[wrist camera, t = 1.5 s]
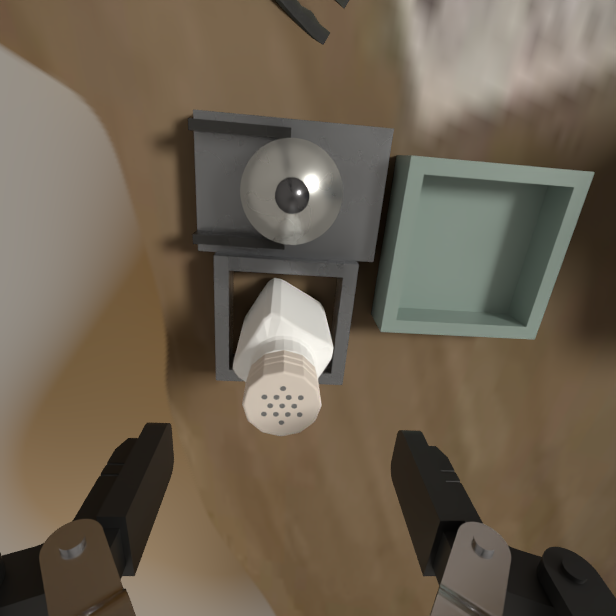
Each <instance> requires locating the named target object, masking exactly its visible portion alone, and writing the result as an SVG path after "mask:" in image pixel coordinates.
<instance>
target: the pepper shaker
mask: <svg viewBox="0 0 616 616" xmlns="http://www.w3.org/2000/svg"><path fill="white" fill-rule="evenodd" d="M333 349H334V347H333V343H332V339H331V335H330V331H329V327H328V323H327V319H326V314H325V310H324V307H323V306H322V304H321V303H320V302H319V301H317V300H316V299H314V298H312V297H311V296H309V295H307V294H306V293H304V292H302V291H301V290H299V289H297V288H296V287H294V286H292V285H291V284H289V283H288V282H286V281H284V280H283V279H279V278H273V279H271V280H270V281H268V283H267V284H266V286H265V287H264V289H263V290H262V292H261V293H260V295H259V296H258V298H257V299H256V301H255V302H254V304H253V305H252V307H251V309H250V310H249V312H248V313H247V315H246V316H245V318H244V322H243V326H242V330H241V334H240V338H239V342H238V346H237V350H236V353H235V357H234V361H233V370H234V372H235V373H236V374H237V376H238V377H239V378H240V379H242V380H243V381H245V382H246V387H245V391H244V392H245V393H244V397H243V403H242V405H243V408H244V411H245V414H246V417H247V420H248V421H249V422H250V423H252V424H253V425H254V426H255V427H256V428H258V429H259V430H260V431H261V432H264V433H269V434H273V435H278V436H285V435H290V434H295V433H300V432H301V431H303V430H304V429H305V428H307V427H308V426H309V425H311V424H312V423H313V422H315V420H316V417H317V415H318V413H319V410H320V408H321V406H322V405H321V398H320V391H319V383H318V378H319V376H320V375H321V374H322V372H323V371H324V369H325V368H326V366H327V365H328V363H329V362H330V360H331V359H332V354H333Z"/></svg>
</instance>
